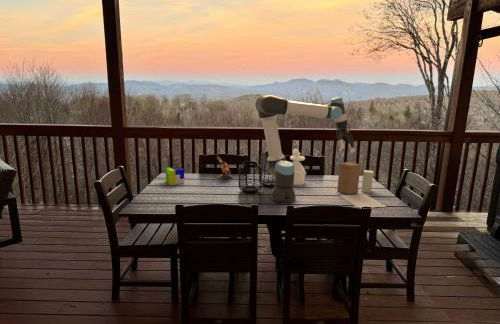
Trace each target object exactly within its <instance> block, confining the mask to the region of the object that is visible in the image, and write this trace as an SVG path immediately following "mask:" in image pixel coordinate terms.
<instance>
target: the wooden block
mask: <svg viewBox="0 0 500 324" xmlns="http://www.w3.org/2000/svg"><path fill="white" fill-rule="evenodd" d="M338 166H339V167H338V168H339V169H338V178H337V188H336V189H337V192H338V193H342V194H343V195H344V194H345V195H355V194H357V193H358V192H359V191H358V190H359V182H360V174H361V173H360V172H361V164H360V163H356V162H352V161H346V162H341V163H339V165H338Z"/></svg>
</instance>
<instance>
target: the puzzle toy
mask: <svg viewBox="0 0 500 324" xmlns="http://www.w3.org/2000/svg"><path fill="white" fill-rule="evenodd" d="M165 182H166V183H168V184H169V185H170V186H173V185H174V186H175V185H180V184H185V169H184V168H183V167H180V166H172V167H165Z"/></svg>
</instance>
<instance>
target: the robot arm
mask: <svg viewBox="0 0 500 324" xmlns="http://www.w3.org/2000/svg"><path fill="white" fill-rule="evenodd" d="M254 106H255V109H256V111H257V114H258V117H259V119H260V120H261V122H262V125H263V126H262V127H263V131H264V136H265V137H264V138H265V144H266V148H267V154H268V157H267V160H266V161H267V164H266V169H267V171H268V173H269V174H270V176H272V177H273V178H274V188H273V191H272V193H271V198H272V199H273V200H274V201H273V200H272V199H271V200H272V201H273V202H275V201H277V202H276V203H278V202H282V203H281V204H292V203H295V201H297V199H296V197H297V196H296V192H295V189H294V186H295V185H294V172H295V166H294V164H293V163H292V162H293V161H292V162H291V161H288V160H286V155H284V154H283V152H282V146H281V142H280V141H281V140H280V135H279V129H278V123H277V116H278V115H279V116H285V115H296V116H305V117H313V118H314V117H315V118H316V119H318V120H320V119H321V120H322V119H331V120H334V122H335V126H336V139H337V140H338V143H339V146H340V150H343V149H346V148H345V144H344V139H343V138H344V137H343V136H345V138H346V140H347V141H348V147H349V150H350V154H352V153H355V152H356V150H355V145H354V143H355V142H356V141H355V138H354V136H353V135H352V132H351V129H350V127H347V126H348V125H349V122H348V119H347V113H346V109H345V104H344V100H343V97H342V96H335V97H333V98H331V99H330V102H328V103H326V104H316V103H308V102H301V101H294V100H288V99H287V98H283V97H279V96H276V95H272V94H261V95H260V96H258V97H257V98H256V100H255V105H254ZM291 202H292V203H291Z"/></svg>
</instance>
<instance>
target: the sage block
mask: <svg viewBox="0 0 500 324" xmlns="http://www.w3.org/2000/svg"><path fill="white" fill-rule="evenodd" d="M373 177H374V170H368V169H364V170H363V175H362V185H361V192H363V193H369V194H370V193H372V188H373Z"/></svg>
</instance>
